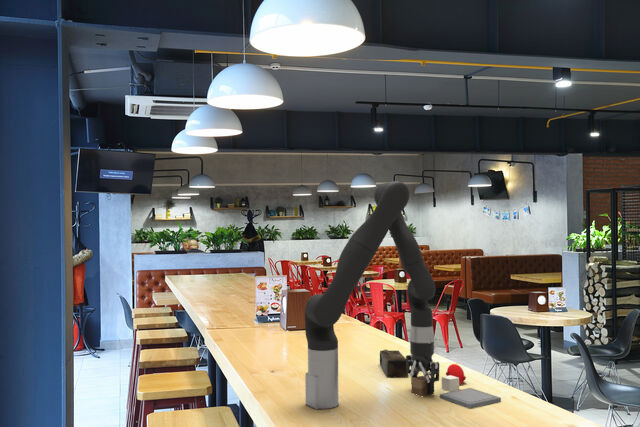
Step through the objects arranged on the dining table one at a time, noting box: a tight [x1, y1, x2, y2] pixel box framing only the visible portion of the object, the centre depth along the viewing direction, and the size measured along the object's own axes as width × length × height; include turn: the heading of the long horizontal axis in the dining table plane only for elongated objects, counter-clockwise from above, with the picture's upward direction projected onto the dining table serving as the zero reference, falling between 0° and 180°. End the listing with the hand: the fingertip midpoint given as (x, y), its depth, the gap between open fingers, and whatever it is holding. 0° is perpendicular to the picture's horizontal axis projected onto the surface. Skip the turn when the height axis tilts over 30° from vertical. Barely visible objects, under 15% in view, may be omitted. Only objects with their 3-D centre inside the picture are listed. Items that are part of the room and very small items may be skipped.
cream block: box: [441, 375, 460, 392], centre depth 199 cm, size 4×4×4 cm
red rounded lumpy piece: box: [445, 363, 467, 386], centre depth 207 cm, size 8×6×6 cm
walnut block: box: [410, 375, 434, 397], centre depth 194 cm, size 5×5×5 cm
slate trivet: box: [439, 387, 502, 409], centre depth 187 cm, size 13×13×1 cm
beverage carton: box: [379, 349, 409, 378], centre depth 224 cm, size 8×19×7 cm, turn 3°
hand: (422, 390), depth 194 cm, fingers open, 7 cm apart
